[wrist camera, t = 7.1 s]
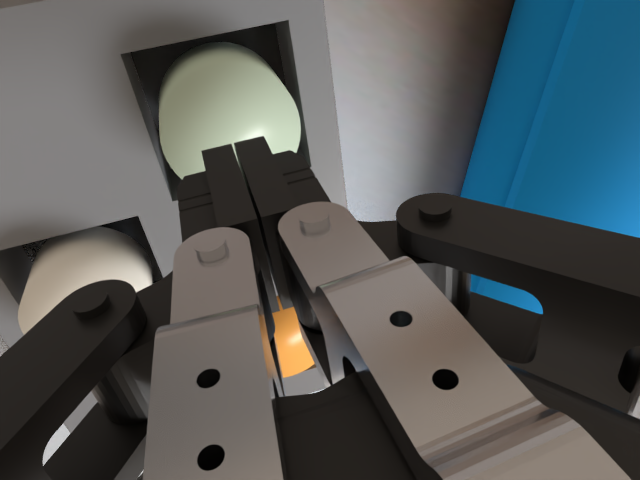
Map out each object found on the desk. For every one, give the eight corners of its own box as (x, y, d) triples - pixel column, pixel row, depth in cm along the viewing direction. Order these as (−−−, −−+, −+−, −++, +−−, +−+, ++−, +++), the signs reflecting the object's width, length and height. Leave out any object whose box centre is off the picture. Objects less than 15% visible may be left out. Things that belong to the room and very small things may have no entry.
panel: (296, -57, 16) (317, -50, 14) (350, 338, 26) (366, 374, 24) (-157, 25, 14) (-208, 47, 12) (96, 415, 25) (91, 461, 23)
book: (935, 2, 20) (656, 422, 33) (818, -12, 23) (608, 373, 36) (574, -31, 15) (417, 474, 28) (495, -42, 19) (388, 412, 32)
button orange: (308, 261, 22) (323, 296, 20) (320, 324, 25) (334, 362, 23) (218, 285, 22) (225, 325, 20) (239, 348, 24) (247, 389, 22)
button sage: (270, 30, 16) (288, 49, 14) (292, 147, 18) (309, 178, 16) (140, 56, 15) (138, 81, 13) (179, 174, 17) (183, 210, 15)
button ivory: (130, 213, 18) (128, 254, 16) (166, 298, 20) (167, 342, 18) (11, 243, 17) (-7, 289, 15) (61, 326, 19) (51, 376, 17)
